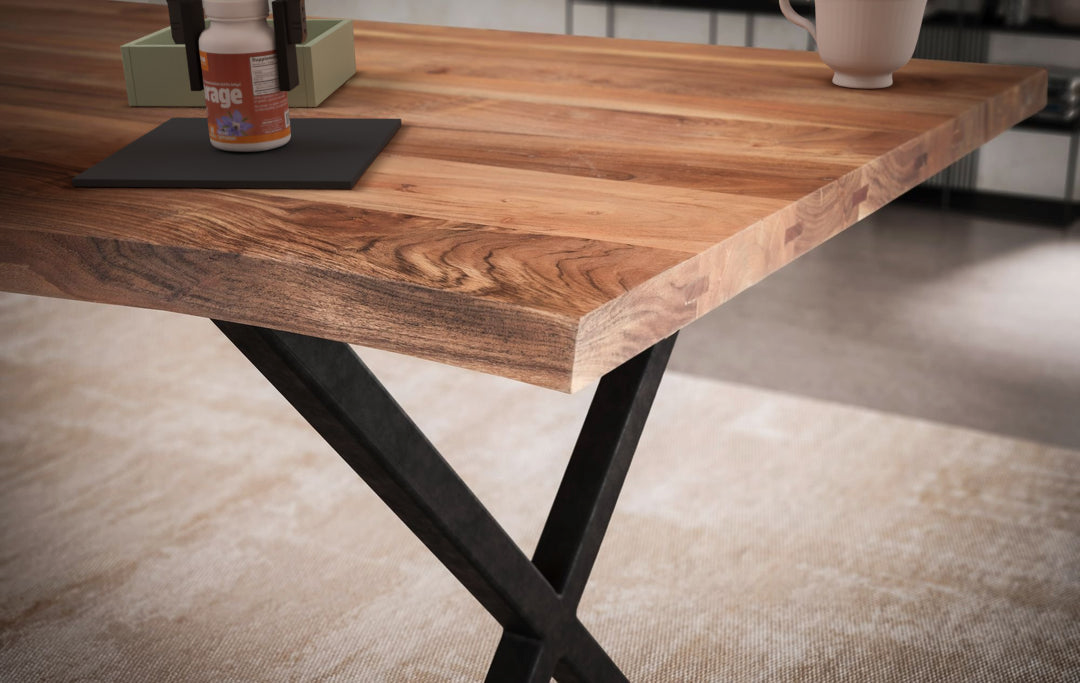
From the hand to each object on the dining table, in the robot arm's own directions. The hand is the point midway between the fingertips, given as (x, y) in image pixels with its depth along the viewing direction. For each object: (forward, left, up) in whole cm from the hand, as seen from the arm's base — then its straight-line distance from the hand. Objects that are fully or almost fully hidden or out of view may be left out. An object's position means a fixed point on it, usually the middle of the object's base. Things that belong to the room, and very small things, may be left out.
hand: (245, 87), depth 89 cm
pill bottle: (0, 0, -5) cm, 5 cm away
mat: (0, 0, -5) cm, 5 cm away
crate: (-8, +26, -5) cm, 28 cm away
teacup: (+51, +30, -5) cm, 59 cm away
